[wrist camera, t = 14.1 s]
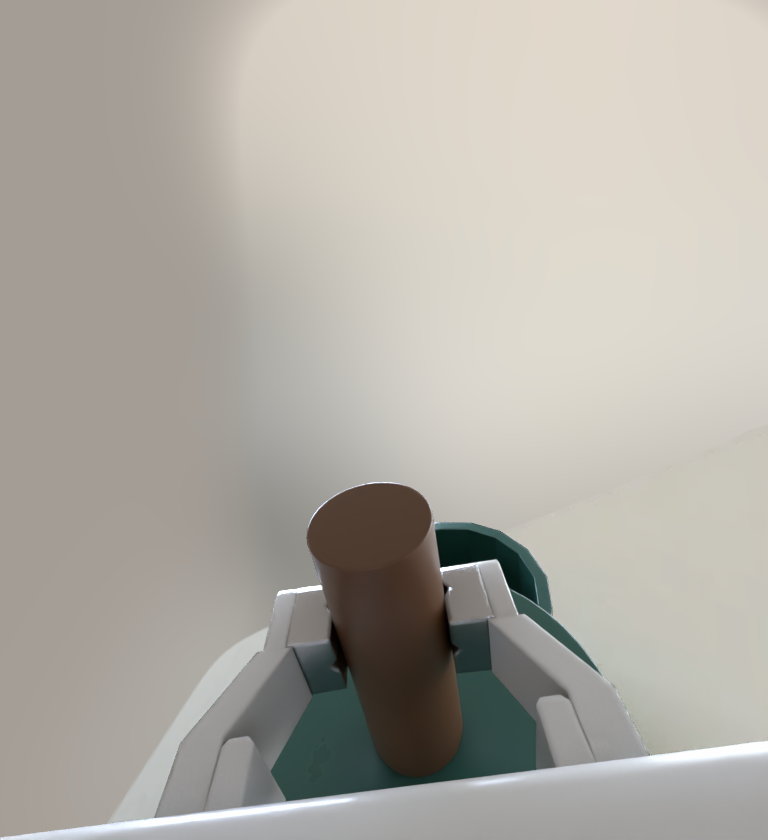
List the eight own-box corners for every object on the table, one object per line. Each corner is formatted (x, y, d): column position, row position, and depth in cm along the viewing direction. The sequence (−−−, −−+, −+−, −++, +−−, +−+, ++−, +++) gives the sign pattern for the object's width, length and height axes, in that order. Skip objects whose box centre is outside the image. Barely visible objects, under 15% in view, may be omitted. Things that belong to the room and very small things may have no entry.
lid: (136, 1002, 9) (-168, 826, 5) (311, 583, 19) (251, 409, 15) (743, 1217, 6) (1080, 1191, 2) (586, 596, 16) (602, 386, 12)
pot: (369, 769, 25) (333, 670, 20) (398, 613, 34) (378, 521, 29) (561, 799, 22) (567, 694, 18) (537, 621, 31) (537, 522, 27)
